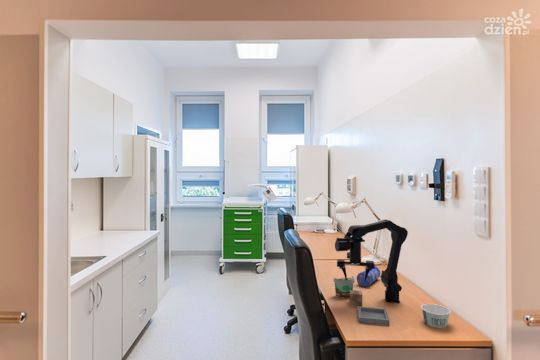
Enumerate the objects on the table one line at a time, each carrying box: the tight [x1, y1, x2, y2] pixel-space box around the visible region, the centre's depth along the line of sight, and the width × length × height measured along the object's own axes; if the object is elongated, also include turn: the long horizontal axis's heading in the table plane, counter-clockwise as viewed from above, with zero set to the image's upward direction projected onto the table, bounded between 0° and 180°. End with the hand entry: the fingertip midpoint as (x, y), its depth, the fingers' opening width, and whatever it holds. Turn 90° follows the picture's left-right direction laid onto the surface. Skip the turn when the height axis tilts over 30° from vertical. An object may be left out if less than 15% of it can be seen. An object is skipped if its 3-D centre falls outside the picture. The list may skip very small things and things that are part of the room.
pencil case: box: [356, 265, 381, 288], centre depth 202 cm, size 22×9×10 cm, turn 145°
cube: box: [349, 289, 363, 307], centre depth 168 cm, size 6×6×6 cm
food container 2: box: [420, 303, 452, 329], centre depth 145 cm, size 12×12×6 cm
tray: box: [357, 306, 390, 326], centre depth 151 cm, size 13×13×2 cm
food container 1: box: [333, 275, 356, 299], centre depth 178 cm, size 12×6×10 cm, turn 105°
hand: (355, 280), depth 168 cm, fingers open, 9 cm apart
